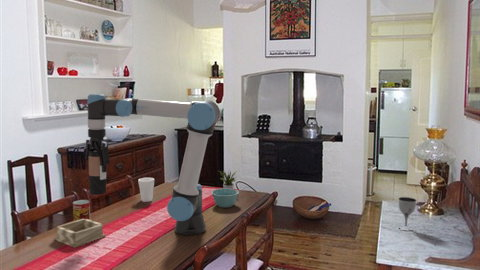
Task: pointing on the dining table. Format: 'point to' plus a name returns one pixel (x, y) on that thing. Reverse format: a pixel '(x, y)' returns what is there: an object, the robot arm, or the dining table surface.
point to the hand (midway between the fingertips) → (97, 177)
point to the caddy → (79, 232)
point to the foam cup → (146, 189)
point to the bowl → (225, 197)
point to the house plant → (228, 180)
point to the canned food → (81, 209)
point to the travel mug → (95, 174)
